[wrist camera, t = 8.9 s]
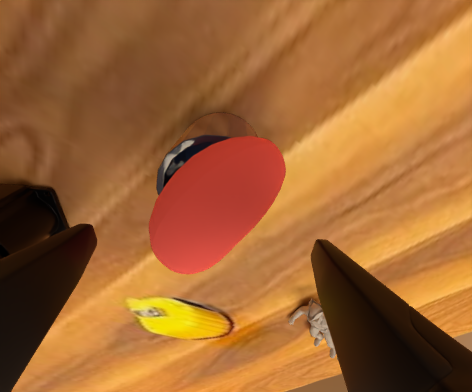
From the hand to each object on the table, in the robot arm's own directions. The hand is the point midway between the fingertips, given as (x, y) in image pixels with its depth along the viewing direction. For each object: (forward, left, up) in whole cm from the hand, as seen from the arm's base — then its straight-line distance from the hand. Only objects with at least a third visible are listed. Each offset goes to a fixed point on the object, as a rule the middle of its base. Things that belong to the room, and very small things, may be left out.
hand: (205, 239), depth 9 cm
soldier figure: (-25, -15, -13) cm, 32 cm away
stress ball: (-1, 0, -6) cm, 6 cm away
